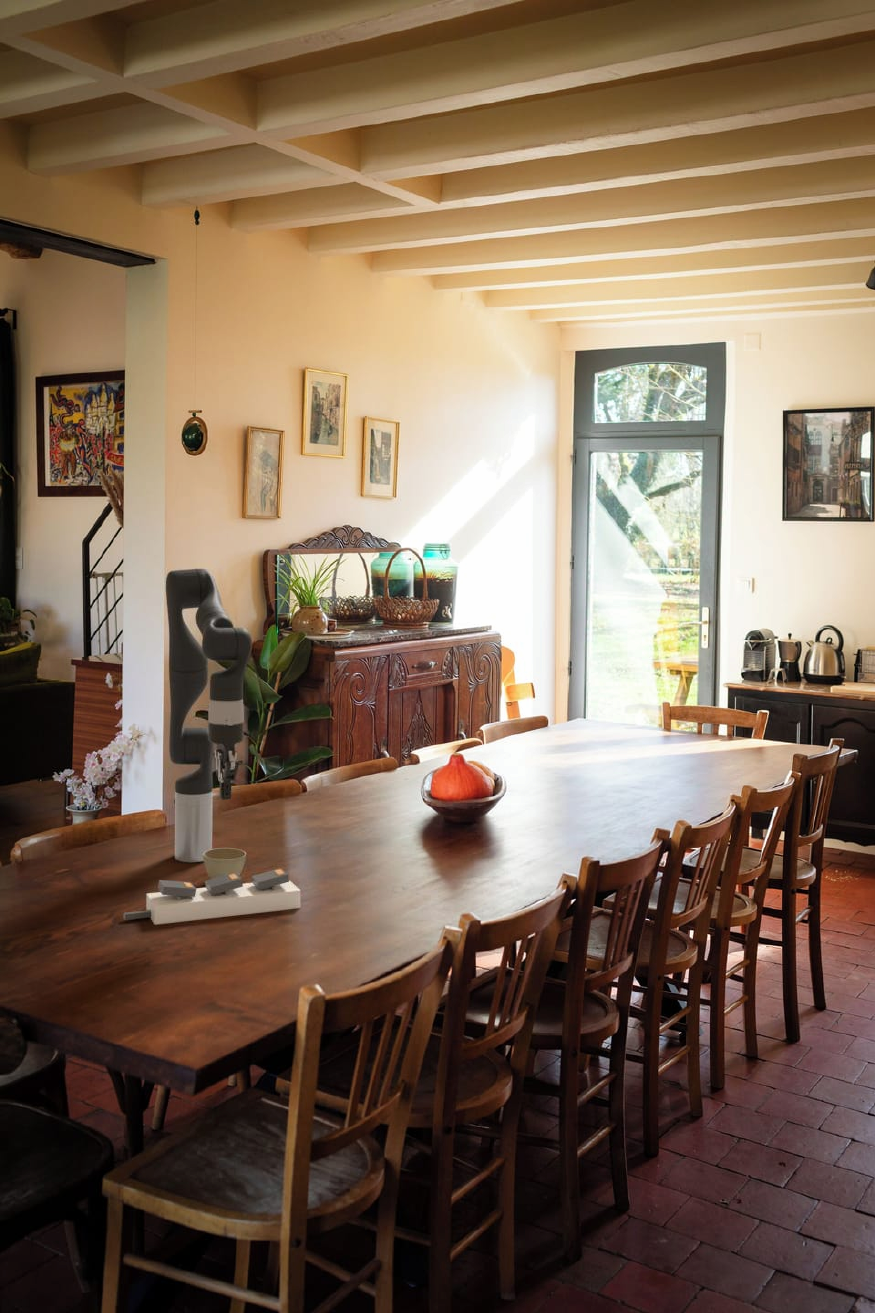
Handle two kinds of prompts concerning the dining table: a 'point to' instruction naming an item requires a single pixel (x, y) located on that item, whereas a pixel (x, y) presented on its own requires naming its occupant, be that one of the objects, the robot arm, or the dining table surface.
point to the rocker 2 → (223, 883)
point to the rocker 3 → (270, 879)
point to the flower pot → (224, 861)
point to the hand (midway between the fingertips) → (225, 798)
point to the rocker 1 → (176, 888)
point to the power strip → (218, 903)
